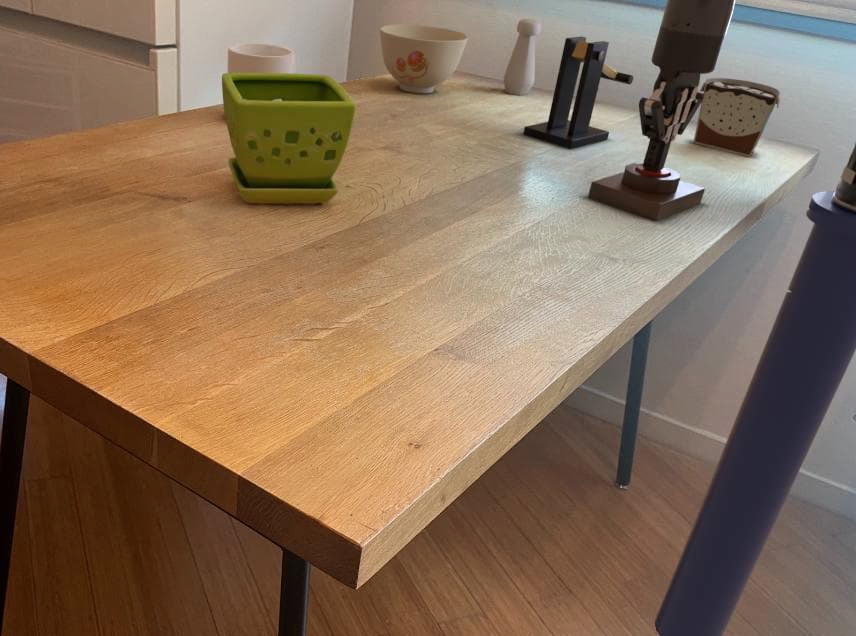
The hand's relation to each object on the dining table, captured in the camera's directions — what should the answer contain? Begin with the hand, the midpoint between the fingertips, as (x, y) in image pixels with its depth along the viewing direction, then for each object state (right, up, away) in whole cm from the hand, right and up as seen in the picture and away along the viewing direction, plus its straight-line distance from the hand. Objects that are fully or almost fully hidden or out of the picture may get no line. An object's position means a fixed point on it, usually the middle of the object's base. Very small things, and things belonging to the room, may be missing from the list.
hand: (652, 169), depth 113 cm
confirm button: (0, -2, +1) cm, 2 cm away
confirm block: (0, -4, +2) cm, 4 cm away
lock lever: (+1, +23, +25) cm, 34 cm away
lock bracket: (-3, +13, +28) cm, 31 cm away
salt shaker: (-5, +29, +54) cm, 62 cm away
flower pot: (-48, -4, -5) cm, 49 cm away
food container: (+24, +12, +30) cm, 41 cm away
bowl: (-25, +28, +49) cm, 62 cm away
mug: (-52, +14, +24) cm, 59 cm away
